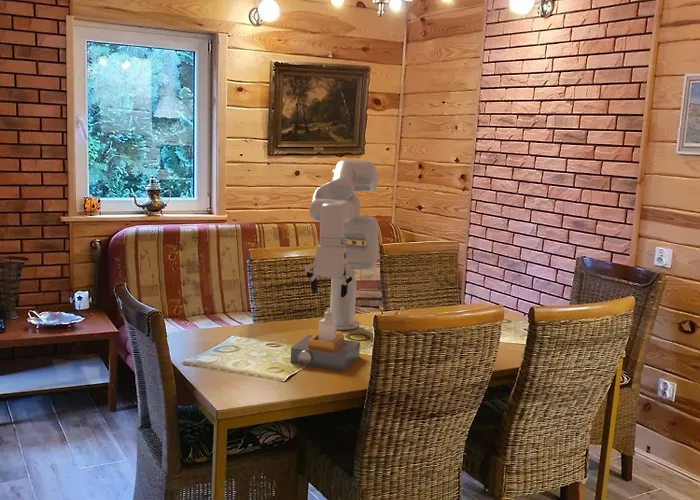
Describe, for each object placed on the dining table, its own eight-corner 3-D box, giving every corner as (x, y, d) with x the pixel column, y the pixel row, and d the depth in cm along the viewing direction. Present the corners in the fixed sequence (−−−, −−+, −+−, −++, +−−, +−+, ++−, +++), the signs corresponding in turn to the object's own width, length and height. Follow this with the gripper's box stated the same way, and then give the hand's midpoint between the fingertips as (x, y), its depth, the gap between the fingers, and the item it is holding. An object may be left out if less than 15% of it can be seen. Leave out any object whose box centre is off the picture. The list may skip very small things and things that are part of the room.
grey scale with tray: (309, 348, 246) (310, 326, 244) (360, 355, 240) (361, 333, 239) (289, 363, 228) (290, 340, 227) (343, 372, 223) (344, 348, 222)
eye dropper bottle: (327, 347, 230) (329, 311, 228) (316, 343, 234) (317, 307, 232) (337, 345, 233) (339, 309, 231) (326, 341, 237) (327, 305, 235)
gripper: (361, 243, 229) (358, 295, 232) (309, 237, 234) (307, 288, 237) (354, 246, 222) (351, 300, 225) (301, 241, 227) (299, 293, 230)
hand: (328, 294), depth 231 cm, fingers open, 9 cm apart
